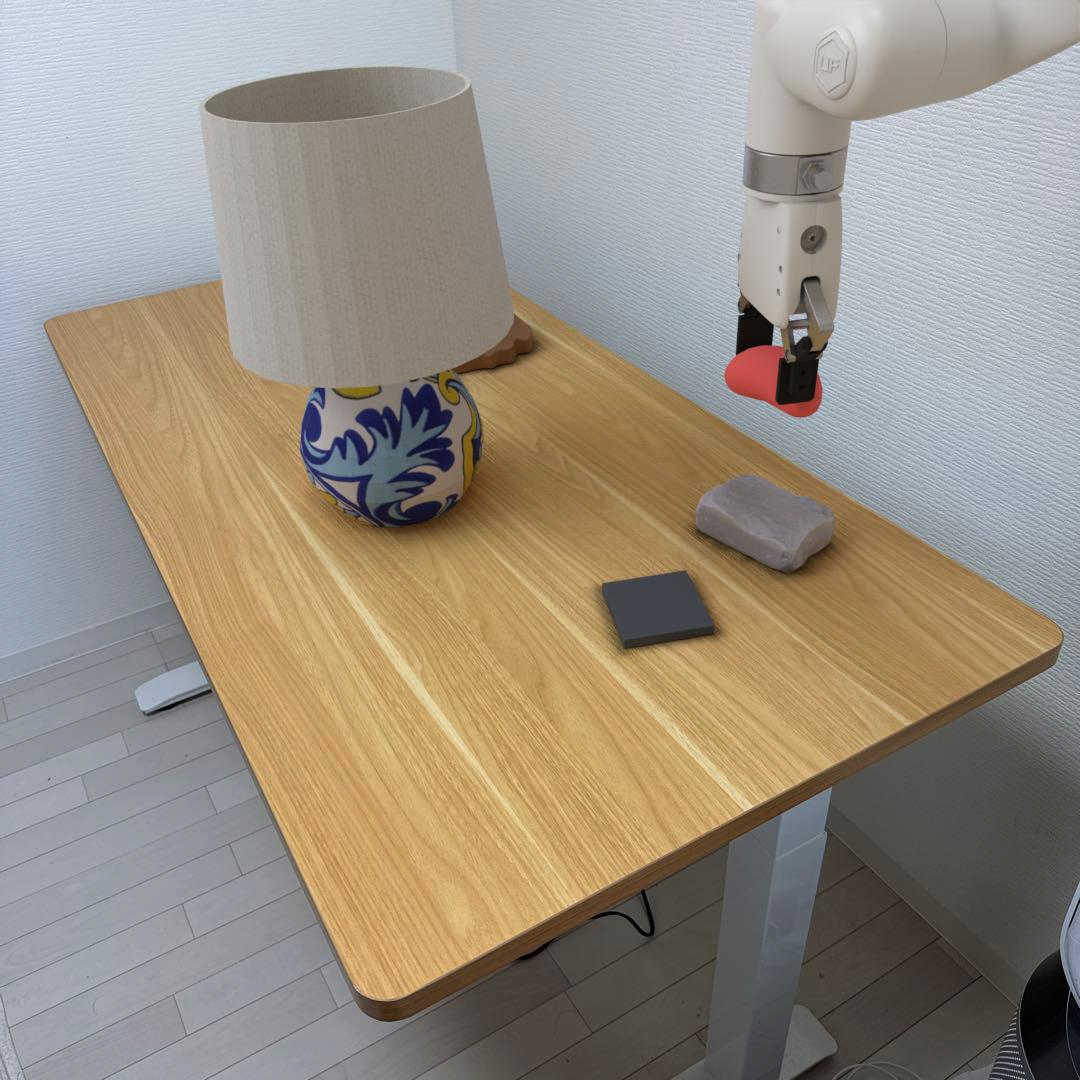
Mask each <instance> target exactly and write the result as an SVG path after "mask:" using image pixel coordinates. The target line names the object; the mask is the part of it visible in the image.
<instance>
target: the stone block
mask: <svg viewBox="0 0 1080 1080" xmlns="http://www.w3.org/2000/svg"><path fill="white" fill-rule="evenodd" d="M694 514H695V526H696V529H698V531H700V532H702V533H703V534H705V535H706V536H709V537H711V538H713V539H714V540H716V541H717V542H720V543H722V544H723V545H725V546H727V547H729V548H732V549H734V550H735V551H737V552H739V553H740V554H743V555H744V556H747V557H750V558H752V559H754V560H755V561H756V562H758V563H760V564H762V565H763V566H766V567H768V568H769V569H774V570H777V571H781V572H784V573H786V574H792V573H794V571H796V570H798V569H799V568H801V567H802V566H804V564H805V563H806V562H807V560H808V559H809V558H810V557H811V556H813V555H815V554H817V553H818V552H820V551H822V550H823V549H824V548H826V547H827V546H828V545H829V544H830V542H831V540H832V538H833V535H834V533H835V528H836V524H835V516H834V515H835V514H834V512H833V511H832V510H831V508H830V507H829V506H827V505H824V504H822V503H819V502H817V501H816V500H814V499H813V498H811V497H808V496H805V495H797V494H796V493H794V492H792V491H790V490H788V489H786V488H783V487H780V486H778V485H776V483H774V482H772V481H770V480H768V479H766V478H763V477H761V476H759V475H756V474H753V473H752V474H751V473H749V474H748V473H745V474H743V475H740V476H737V477H735V478H734V477H733V478H729V479H728V480H727V481H726V482H724V483H722V484H717V485H716V486H715V487H713V488H711V489H709V490H707V491H706V492H705V493H704V494H703V495H702V496H701V497H700V499H699V501H698V503H697V505H696V509H695V513H694Z"/></svg>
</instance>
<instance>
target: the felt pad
mask: <svg viewBox="0 0 1080 1080" xmlns="http://www.w3.org/2000/svg"><path fill="white" fill-rule="evenodd" d="M601 592H602V595H603V597H604V601H605V603H606V605H607V608H608V610H609V614H610V615H611V618H612V621H613V624H614V626H615V629H616V632H617V634H618V637H619V639H620V642H621V644H622V646H623V647H622V648H623V649H629V648H636V647H637V648H638V647H642V646H643V647H644V646H648V645H654V644H661V643H667V642H673V641H679V640H684V639H690V638H696V637H702V636H709V635H713V634H715V624H714V622H713V620H712V618H711V616H710V614H709V612H708V610H707V608H706V606H705V604H704V603H703V601H702V599H701V597H700V594H699V593H698V591H697V588H696V587H695V585H694V583H693V581H692V579H691V577H690V575H689V574H688V571H687V570H677V571H672V572H666V573H660V574H659V573H658V574H652V575H645V576H641V577H634V578H633V577H632V578H628V579H627V578H626V579H621V580H615V581H614V580H613V581H609V582H602V583H601Z"/></svg>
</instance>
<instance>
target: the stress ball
mask: <svg viewBox="0 0 1080 1080" xmlns="http://www.w3.org/2000/svg"><path fill="white" fill-rule="evenodd" d="M779 358H785V357H784V350H783V346H782V345H781V346H780V345H772V346H769V345H762V346H757V347H753V348H749V349H747V350H745V351H743V352H741V353H740V354H738V355H737V356H736V355H735V356H734V357H733V358H732V359H731V360H730V361H729V362H728V364H727V365H726V368H725V369H724V382H725V384H726V386H727V387H728V389H729V390H731V391H732V392H733V393H735V394H737V395H739V396H741V397H745V398H749V399H753V400H756V401H760V402H764V403H767V404H769V405H770V406H773V407H774V408H776V409H777V410H779V411H782V412H783V413H785V414H787V415H788V416H791V417H793V418H799V419H803V418H808V417H810V416H812V415H814V414H815V413H817V412H818V410H819V408H820V406H821V404H822V401H823V392H824V391H823V385H822V381H821V376H820V375H819V372H818V373H817V381H816V389H815V396H814V399H813V400H811V401H808V402H800V403H793V404H786V405H779V404H778V403H777V402H776V401H775V395H776V386H777V376H778V366H779Z"/></svg>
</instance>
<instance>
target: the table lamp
mask: <svg viewBox="0 0 1080 1080" xmlns="http://www.w3.org/2000/svg"><path fill="white" fill-rule="evenodd" d="M474 95H475V94H474V91H473V84H472V80H471V79H470V78H469V77H468V76H467V75H465V74H463V73H461V72H457V71H453V70H450V69H445V68H439V67H432V66H419V65H391V64H390V65H389V64H388V65H361V66H359V65H358V66H342V67H332V68H321V69H313V70H305V71H297V72H291V73H284V74H278V75H273V76H268V77H263V78H257V79H254V80H250V81H245V82H242V83H237V84H235V85H231V86H229V87H226V88H223V89H220V90H218V91H216V92H214V93H211V94H209V95H208V96H206V97H205V98H204V99H202V100H201V101H200V103H199V106H198V111H199V118H200V125H201V133H202V141H203V148H204V156H205V163H206V172H207V178H208V187H209V194H210V201H211V210H212V217H213V223H214V224H213V225H214V231H215V240H216V248H217V255H218V262H219V269H220V278H221V286H222V292H223V293H222V294H223V298H224V299H223V300H224V301H223V302H224V309H225V316H226V322H227V323H226V324H227V331H228V338H229V346H230V347H229V348H230V350H231V353H232V355H233V358H234V359H235V360H236V362H238V363H239V364H240V365H241V366H242V367H243V368H244V369H245V370H247V371H249V372H251V373H253V374H255V375H256V376H259V377H261V378H265V379H267V380H271V381H274V382H277V383H281V384H286V385H292V386H299V387H305V388H312V389H311V390H310V393H309V396H308V398H307V400H306V404H305V408H304V412H303V415H302V419H301V424H300V425H301V426H300V438H299V439H300V440H299V453H300V455H301V459H302V463H303V466H304V470H305V472H306V475H307V477H308V479H309V481H310V482H311V483H312V484H313V486H314V487H315V488H316V489H317V491H318V492H319V493H320V494H321V495H322V496H323V497H324V499H325V500H326V501H327V502H328V503H329V504H330V505H331V506H333V507H334V508H335V509H337V510H338V511H339V512H340V513H342V514H343V515H345V516H346V517H347V518H349V519H351V520H352V521H354V522H356V523H359V524H360V525H361V524H362V525H364V526H365V525H366V526H370V527H374V528H386V529H387V528H389V529H391V528H404V527H410V526H415V525H419V524H423V523H426V522H429V521H431V520H434V519H436V518H438V517H440V516H442V515H444V514H446V513H447V512H449V511H450V510H451V509H452V508H454V507H455V506H456V505H457V503H458V502H459V501H460V500H461V499H462V497H463V496H464V494H465V493H466V491H467V490H468V488H469V487H470V485H471V484H472V483H473V481H474V479H475V477H476V474H477V471H478V469H479V466H480V463H481V461H482V459H483V456H484V452H485V451H484V450H485V431H484V422H483V420H482V417H481V415H480V412H479V409H478V406H477V405H476V402H475V399H474V397H473V395H472V394H471V392H470V391H469V389H468V388H467V386H466V385H465V383H464V382H463V380H462V378H461V377H460V376H459V375H458V373H455V372H454V371H453V370H452V368H455V367H458V366H460V365H462V364H464V363H466V362H468V361H471V360H473V359H475V358H477V357H479V356H481V355H482V354H484V353H485V352H487V351H488V350H490V349H491V348H493V347H495V346H496V345H497V344H498V343H499V342H500V341H501V340H502V339H503V338H504V337H505V336H506V335H507V334H508V332H509V330H510V328H511V326H512V325H513V323H514V314H515V309H514V303H513V298H512V292H511V289H510V283H509V277H508V271H507V266H506V262H505V261H506V260H505V256H504V255H505V254H504V251H503V250H504V249H503V246H502V240H501V233H500V230H499V223H498V219H497V213H496V207H495V201H494V197H493V192H492V187H491V181H490V176H489V170H488V165H487V160H486V154H485V149H484V148H485V147H484V144H483V138H482V134H481V132H482V131H481V127H480V122H479V117H478V111H477V106H476V101H475V96H474Z"/></svg>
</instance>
